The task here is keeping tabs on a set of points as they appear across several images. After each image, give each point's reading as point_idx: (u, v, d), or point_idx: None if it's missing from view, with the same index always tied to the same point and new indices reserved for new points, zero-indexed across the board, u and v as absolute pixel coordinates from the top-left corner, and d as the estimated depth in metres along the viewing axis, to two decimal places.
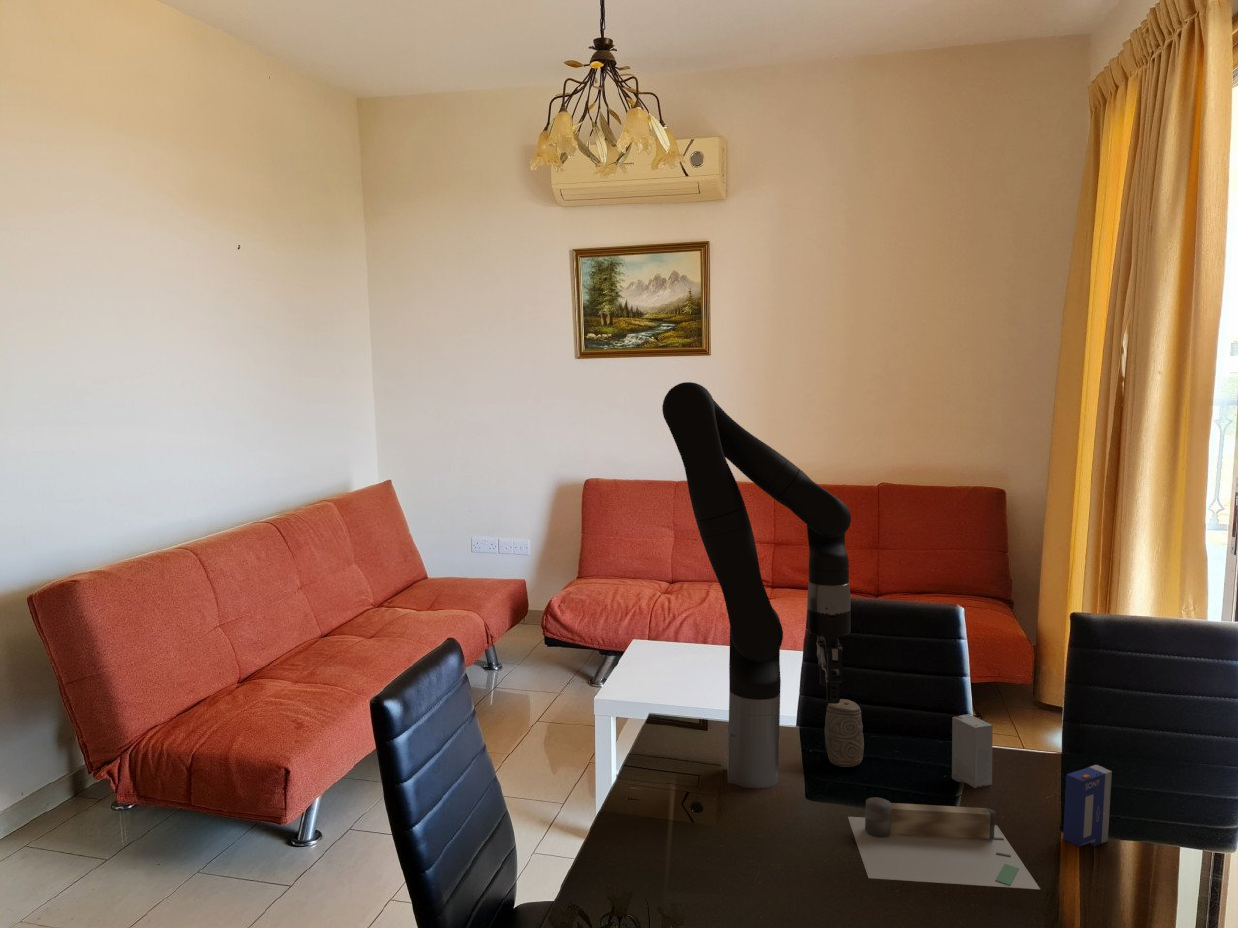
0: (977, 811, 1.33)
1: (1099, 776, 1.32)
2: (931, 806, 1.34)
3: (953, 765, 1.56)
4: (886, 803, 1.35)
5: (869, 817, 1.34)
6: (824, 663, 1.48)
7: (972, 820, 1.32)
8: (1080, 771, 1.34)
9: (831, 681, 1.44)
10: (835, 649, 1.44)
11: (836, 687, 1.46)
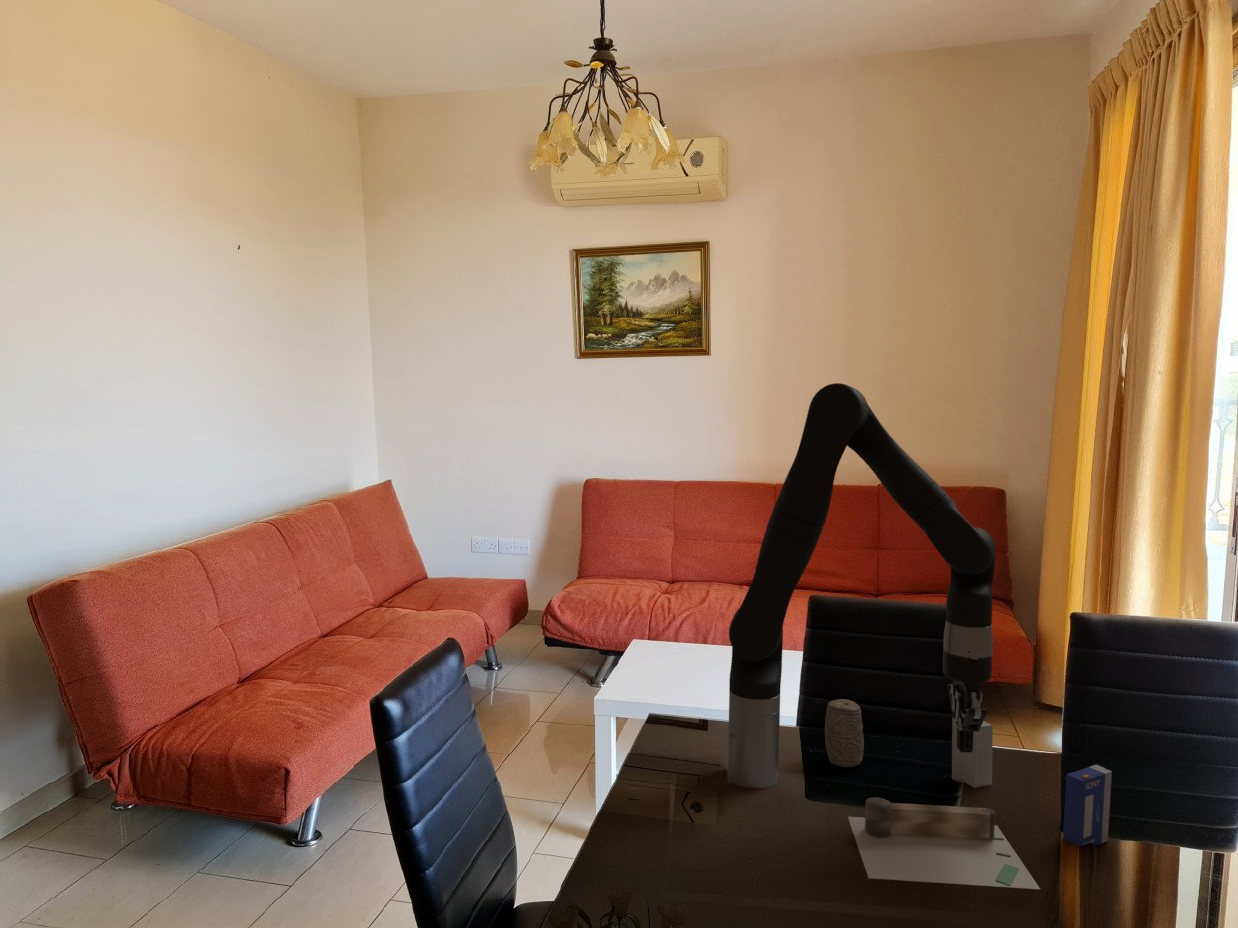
0: (977, 811, 1.33)
1: (1099, 776, 1.32)
2: (931, 806, 1.34)
3: (953, 765, 1.56)
4: (886, 803, 1.35)
5: (869, 817, 1.34)
6: (960, 713, 1.38)
7: (972, 820, 1.32)
8: (1080, 771, 1.34)
9: (967, 729, 1.36)
10: (979, 712, 1.33)
11: (970, 735, 1.38)
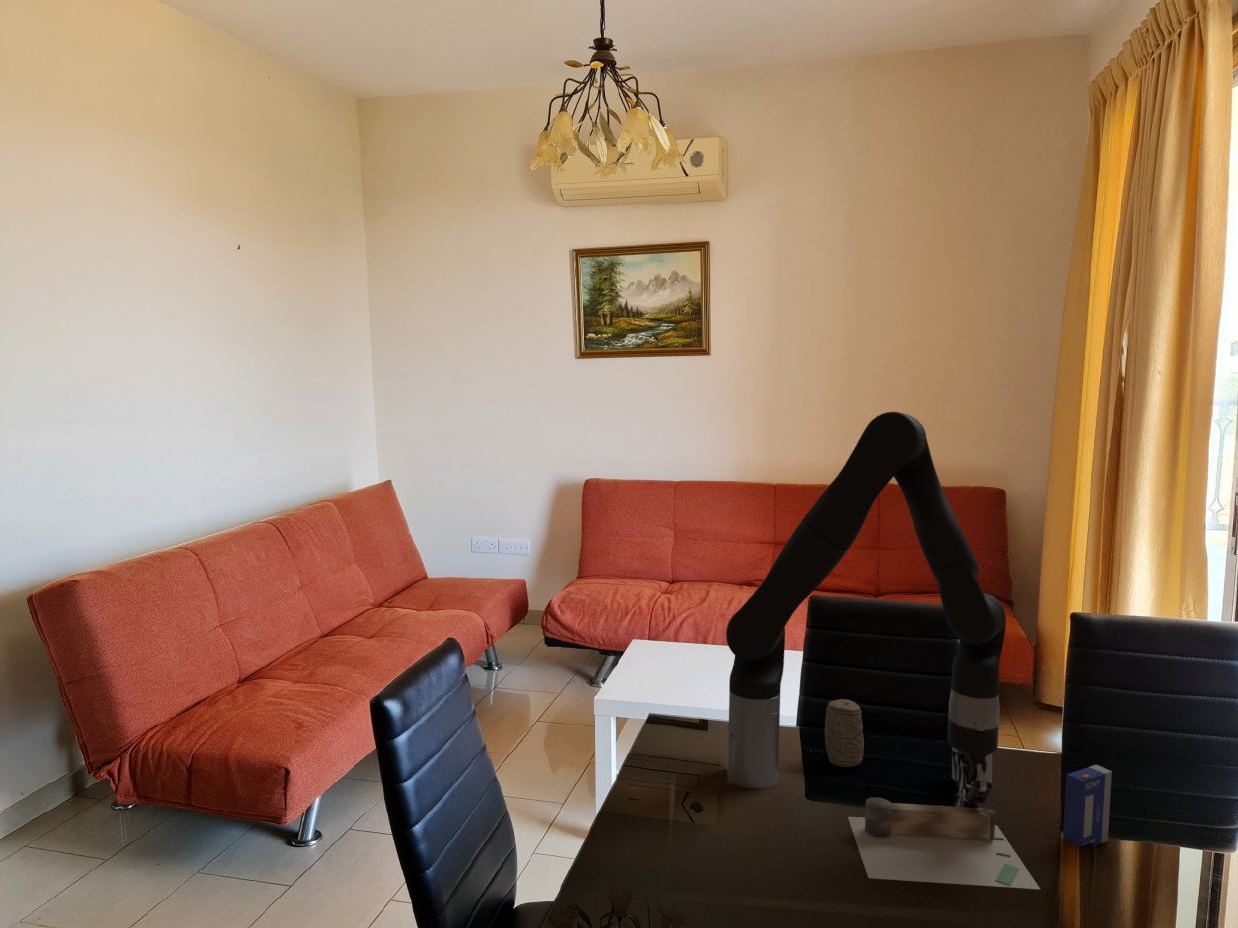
0: (978, 811, 1.33)
1: (1099, 776, 1.32)
2: (931, 806, 1.34)
3: (953, 765, 1.56)
4: (886, 803, 1.35)
5: (868, 817, 1.34)
6: (965, 784, 1.35)
7: (972, 820, 1.32)
8: (1080, 771, 1.34)
9: (971, 801, 1.33)
10: (984, 785, 1.30)
11: (975, 806, 1.35)
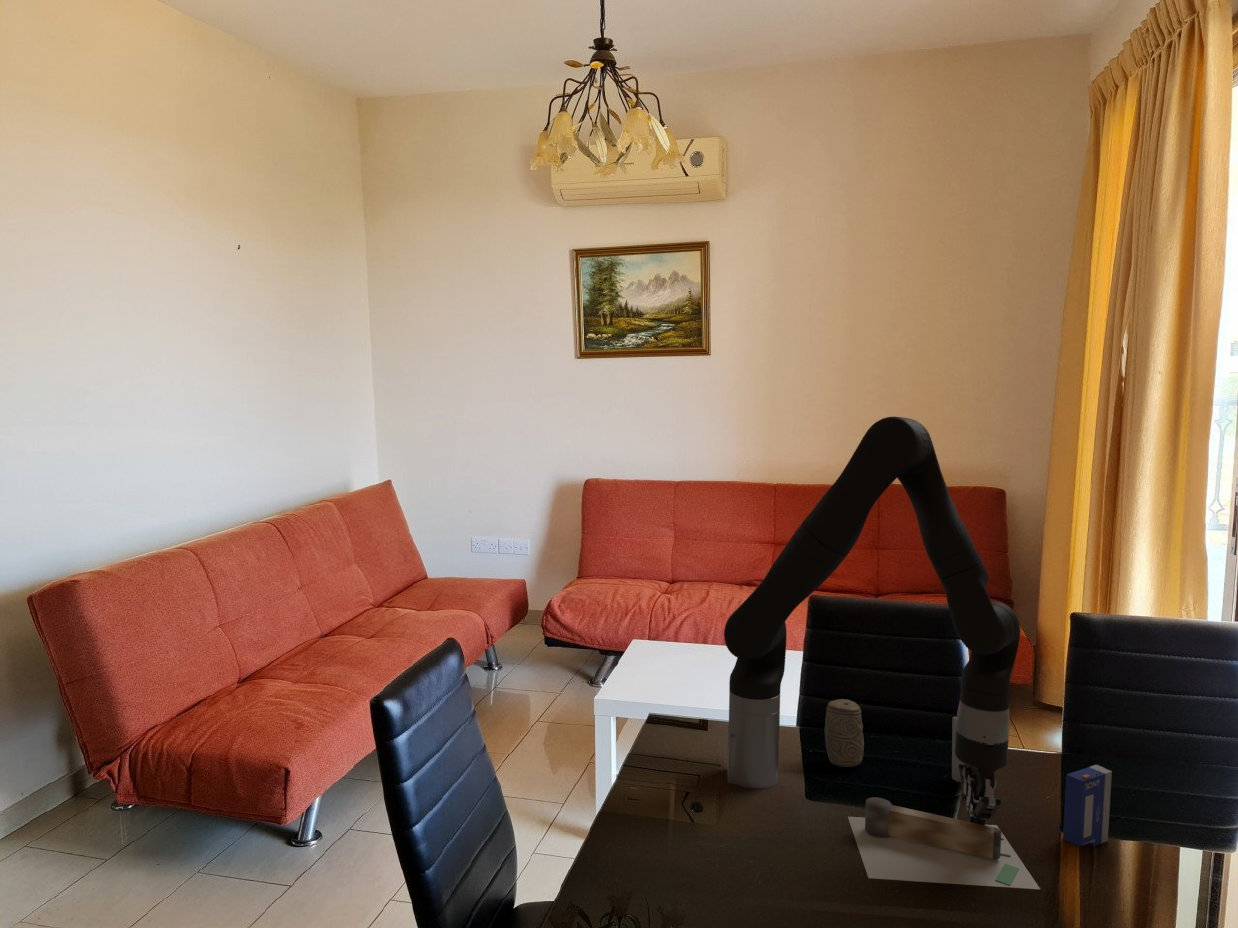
0: (982, 828, 1.28)
1: (1099, 776, 1.32)
2: (934, 815, 1.31)
3: (953, 765, 1.56)
4: (886, 804, 1.34)
5: (866, 815, 1.35)
6: (972, 799, 1.30)
7: (974, 836, 1.28)
8: (1080, 771, 1.34)
9: (979, 817, 1.28)
10: (993, 801, 1.25)
11: (982, 822, 1.30)
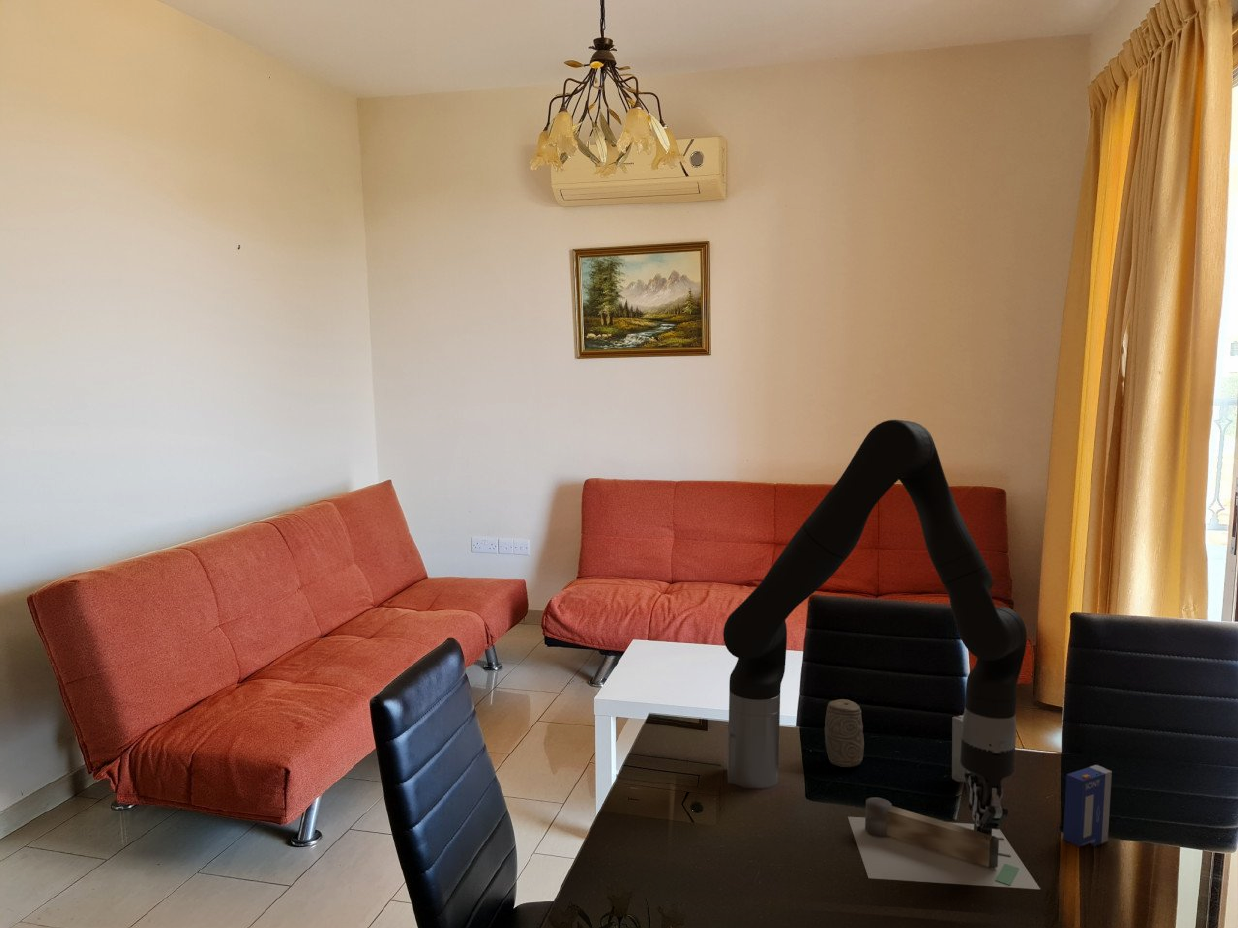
0: (979, 835, 1.26)
1: (1099, 776, 1.32)
2: (932, 819, 1.30)
3: (953, 765, 1.56)
4: (886, 805, 1.34)
5: (865, 814, 1.35)
6: (978, 808, 1.27)
7: (970, 843, 1.26)
8: (1080, 771, 1.34)
9: (985, 827, 1.26)
10: (999, 811, 1.22)
11: (988, 832, 1.27)
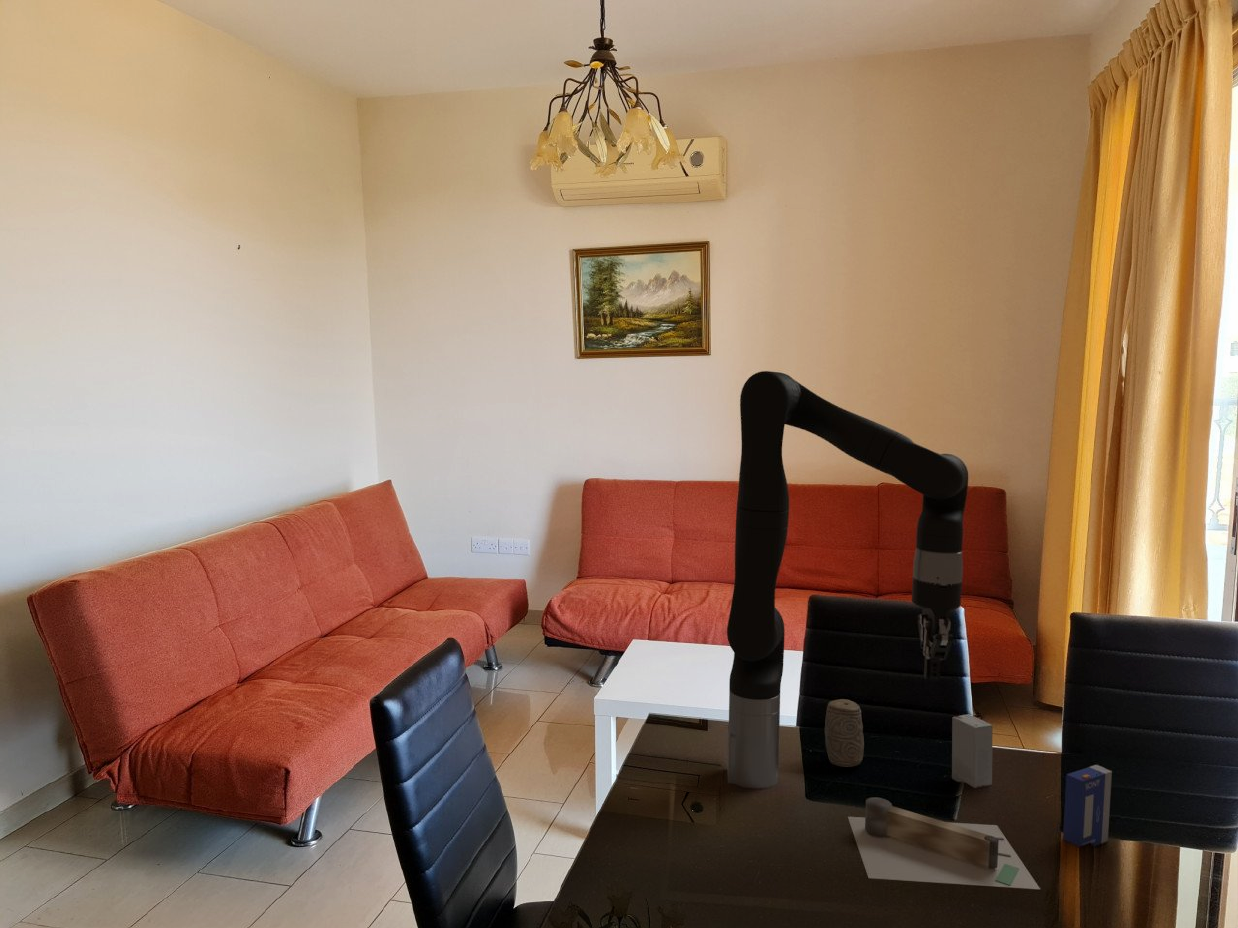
0: (979, 835, 1.25)
1: (1099, 776, 1.32)
2: (932, 819, 1.30)
3: (953, 765, 1.56)
4: (886, 805, 1.34)
5: (865, 814, 1.35)
6: (927, 641, 1.36)
7: (970, 843, 1.26)
8: (1080, 771, 1.34)
9: (934, 657, 1.34)
10: (945, 637, 1.31)
11: (937, 664, 1.36)
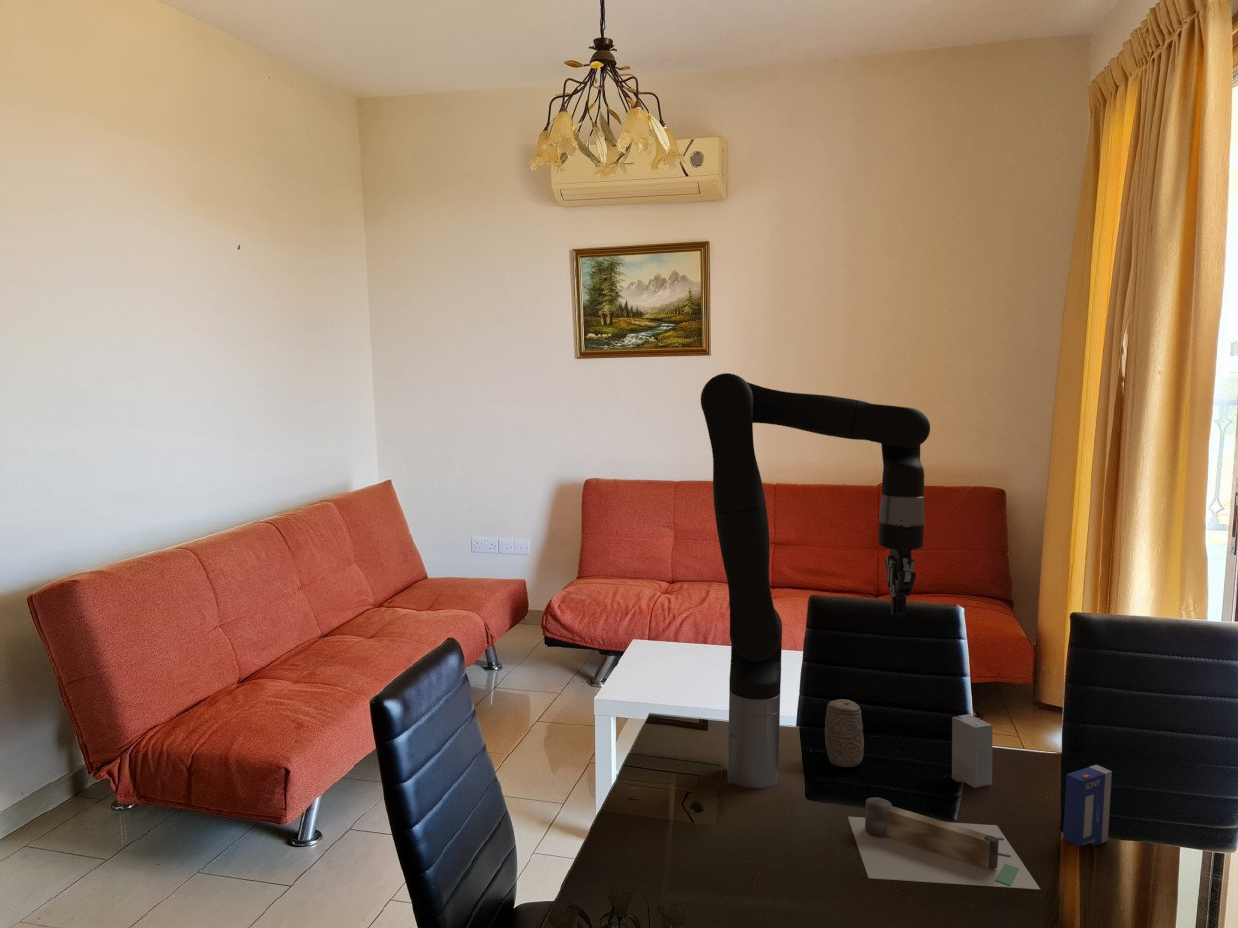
0: (979, 835, 1.25)
1: (1099, 776, 1.32)
2: (932, 819, 1.30)
3: (953, 765, 1.56)
4: (886, 805, 1.34)
5: (865, 814, 1.35)
6: (893, 580, 1.47)
7: (970, 843, 1.26)
8: (1080, 771, 1.34)
9: (899, 594, 1.46)
10: (908, 574, 1.43)
11: (903, 601, 1.48)
